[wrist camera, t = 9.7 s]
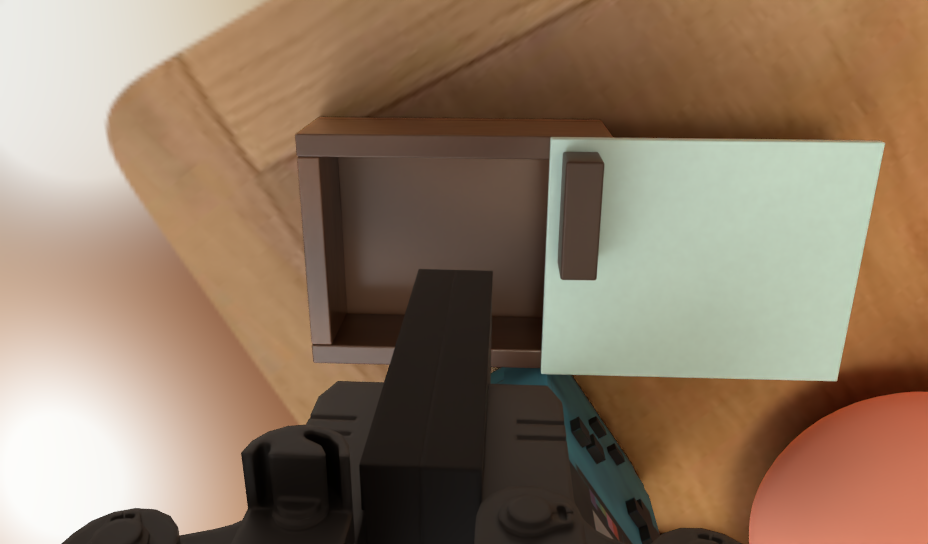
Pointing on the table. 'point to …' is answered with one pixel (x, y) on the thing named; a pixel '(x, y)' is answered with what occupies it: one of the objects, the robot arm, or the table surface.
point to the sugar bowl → (850, 478)
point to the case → (424, 224)
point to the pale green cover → (704, 255)
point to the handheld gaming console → (594, 463)
